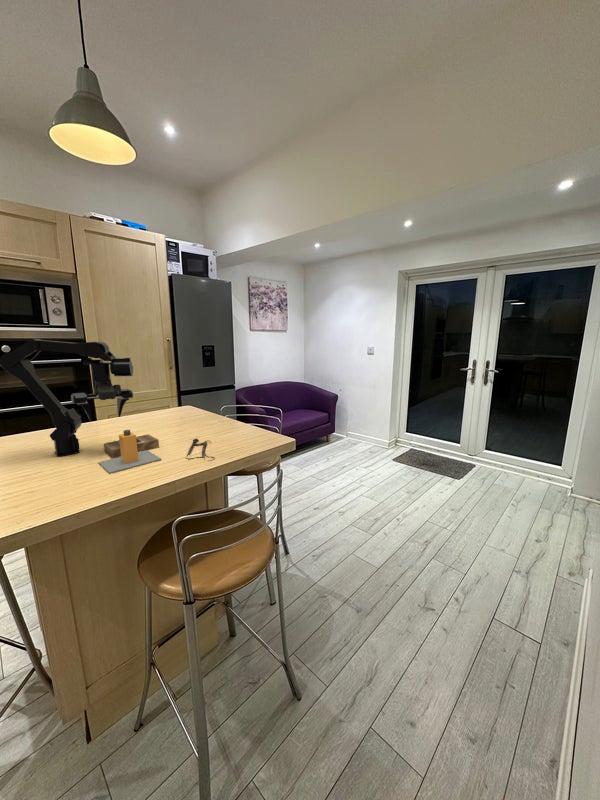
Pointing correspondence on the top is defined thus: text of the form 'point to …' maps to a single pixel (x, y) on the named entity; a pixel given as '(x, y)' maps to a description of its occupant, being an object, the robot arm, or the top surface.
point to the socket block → (142, 444)
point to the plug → (128, 447)
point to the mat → (119, 465)
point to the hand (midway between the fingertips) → (105, 418)
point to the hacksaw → (202, 449)
